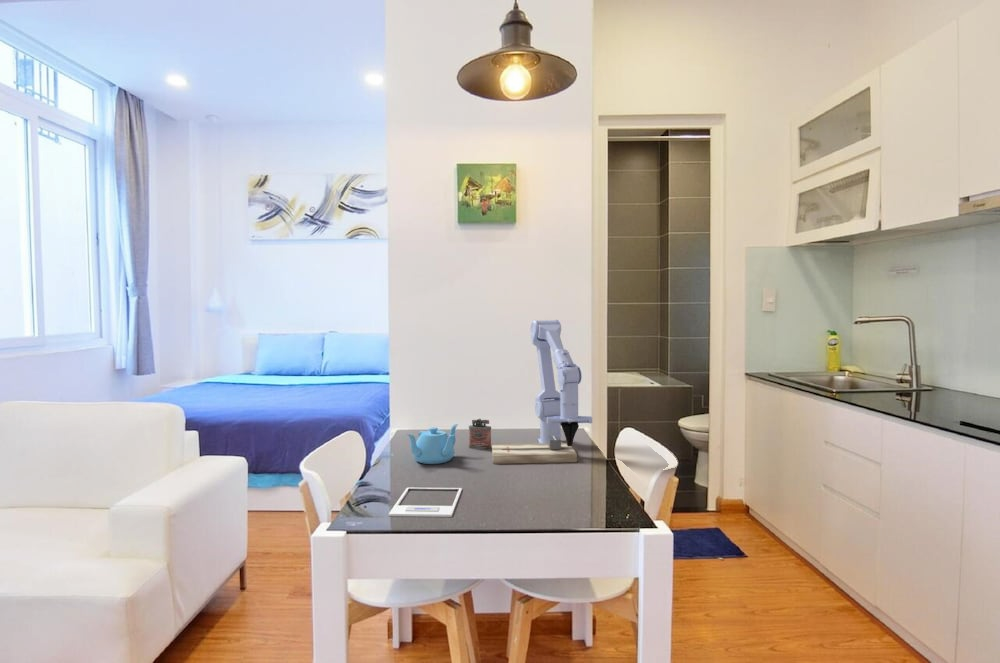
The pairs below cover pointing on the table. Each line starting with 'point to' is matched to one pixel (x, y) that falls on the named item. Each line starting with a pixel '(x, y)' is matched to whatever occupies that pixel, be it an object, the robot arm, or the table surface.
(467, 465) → the table surface
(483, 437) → the lighter
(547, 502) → the table surface
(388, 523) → the table surface
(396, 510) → the photo frame
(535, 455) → the console board
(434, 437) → the teapot
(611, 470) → the table surface
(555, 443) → the fader
